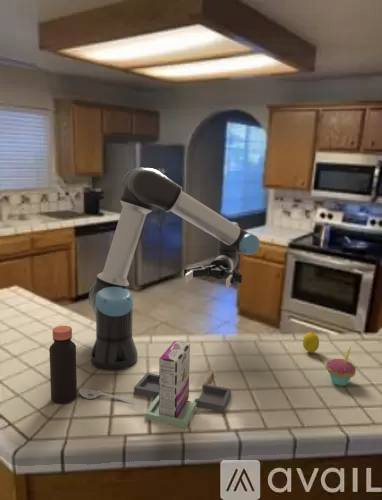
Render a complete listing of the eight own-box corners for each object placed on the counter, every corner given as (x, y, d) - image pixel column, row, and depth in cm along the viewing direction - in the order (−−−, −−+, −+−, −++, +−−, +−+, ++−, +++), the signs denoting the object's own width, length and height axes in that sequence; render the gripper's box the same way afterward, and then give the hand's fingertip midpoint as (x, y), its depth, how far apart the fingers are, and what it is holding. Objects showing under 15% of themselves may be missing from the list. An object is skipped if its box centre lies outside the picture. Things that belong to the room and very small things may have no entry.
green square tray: (144, 418, 101) (144, 413, 101) (160, 396, 111) (160, 391, 111) (185, 428, 98) (185, 422, 97) (198, 404, 108) (198, 399, 108)
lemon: (299, 349, 145) (301, 328, 143) (314, 349, 145) (316, 328, 144) (305, 356, 139) (307, 335, 138) (320, 356, 140) (322, 335, 138)
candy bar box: (172, 394, 112) (173, 340, 109) (189, 398, 110) (191, 343, 107) (157, 417, 101) (158, 357, 98) (175, 421, 100) (177, 361, 97)
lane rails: (170, 383, 118) (170, 378, 118) (180, 368, 127) (180, 364, 127) (205, 390, 115) (205, 385, 115) (213, 375, 124) (213, 370, 124)
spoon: (82, 391, 113) (82, 385, 113) (151, 401, 109) (151, 396, 109) (75, 398, 109) (75, 393, 109) (147, 410, 105) (147, 404, 105)
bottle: (62, 407, 104) (60, 336, 101) (45, 399, 108) (43, 330, 104) (82, 395, 110) (81, 328, 106) (65, 388, 114) (63, 322, 110)
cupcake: (353, 378, 125) (357, 342, 123) (354, 391, 117) (359, 353, 115) (324, 373, 128) (328, 338, 126) (324, 385, 120) (328, 349, 118)
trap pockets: (133, 393, 112) (134, 387, 112) (146, 378, 120) (146, 372, 120) (223, 412, 105) (224, 406, 104) (230, 395, 113) (231, 388, 113)
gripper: (254, 280, 144) (244, 297, 124) (188, 273, 151) (169, 288, 131) (255, 260, 142) (245, 274, 122) (189, 254, 149) (169, 265, 130)
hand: (206, 281), depth 127 cm, fingers open, 13 cm apart
